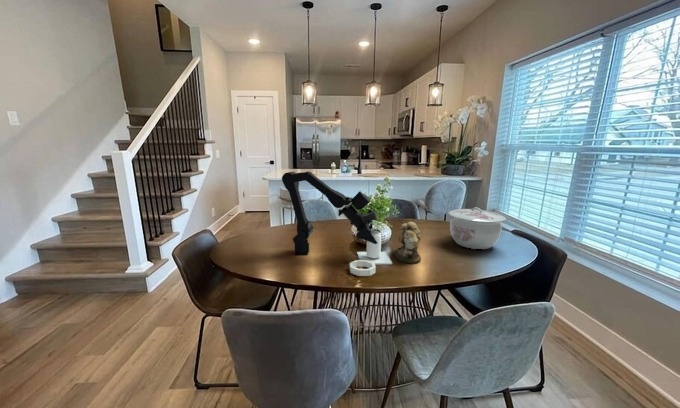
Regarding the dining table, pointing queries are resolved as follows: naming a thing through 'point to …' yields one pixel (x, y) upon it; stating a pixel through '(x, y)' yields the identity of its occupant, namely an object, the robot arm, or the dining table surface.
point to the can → (374, 245)
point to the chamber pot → (475, 227)
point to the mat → (377, 261)
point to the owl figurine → (408, 244)
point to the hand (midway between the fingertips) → (377, 241)
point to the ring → (362, 271)
